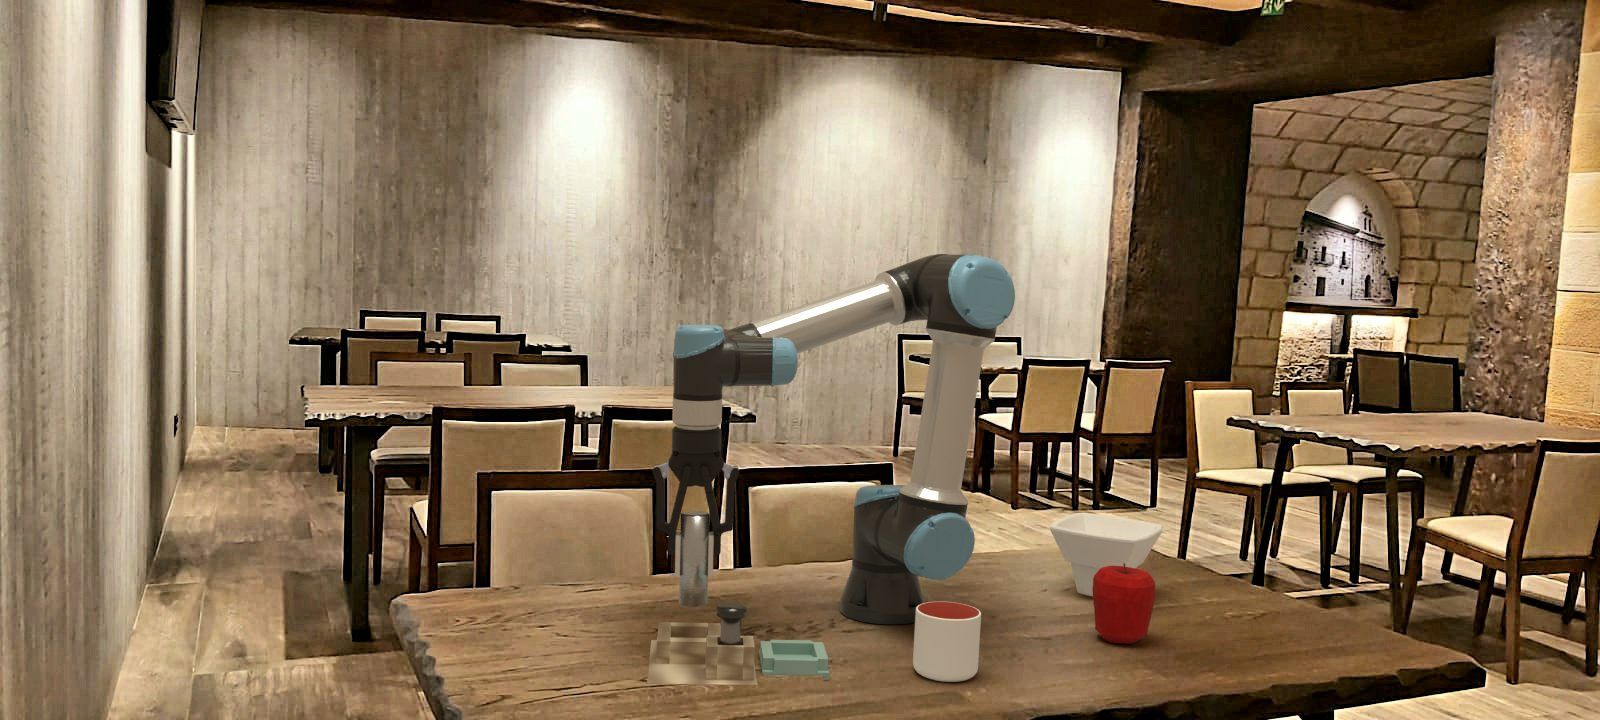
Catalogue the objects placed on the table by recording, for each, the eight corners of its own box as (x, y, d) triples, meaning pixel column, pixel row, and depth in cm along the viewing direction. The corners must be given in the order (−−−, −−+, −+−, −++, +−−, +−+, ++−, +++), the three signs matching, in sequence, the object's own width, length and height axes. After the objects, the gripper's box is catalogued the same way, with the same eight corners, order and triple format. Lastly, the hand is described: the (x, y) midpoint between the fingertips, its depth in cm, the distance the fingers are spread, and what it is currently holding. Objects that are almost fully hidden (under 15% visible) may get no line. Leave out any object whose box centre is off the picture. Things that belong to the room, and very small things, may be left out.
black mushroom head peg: (743, 662, 193) (745, 603, 192) (744, 672, 189) (747, 611, 188) (714, 662, 193) (716, 602, 192) (714, 672, 189) (717, 611, 188)
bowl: (1165, 594, 250) (1170, 524, 249) (1133, 616, 234) (1139, 541, 233) (1073, 578, 260) (1078, 510, 259) (1037, 597, 244) (1042, 525, 243)
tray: (821, 658, 202) (822, 640, 202) (828, 680, 192) (829, 660, 192) (758, 657, 201) (759, 639, 201) (762, 679, 191) (763, 660, 191)
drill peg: (707, 598, 201) (709, 510, 200) (707, 606, 197) (709, 517, 195) (679, 598, 201) (680, 510, 199) (678, 606, 196) (680, 516, 195)
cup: (907, 662, 202) (910, 600, 202) (969, 663, 203) (973, 601, 202) (918, 684, 193) (922, 619, 192) (983, 685, 193) (987, 620, 193)
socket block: (750, 646, 207) (752, 611, 207) (757, 690, 187) (758, 651, 186) (651, 644, 206) (652, 609, 205) (646, 688, 185) (648, 649, 185)
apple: (1102, 650, 213) (1107, 570, 212) (1079, 631, 223) (1084, 555, 222) (1162, 650, 215) (1168, 570, 213) (1137, 631, 225) (1142, 555, 223)
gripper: (752, 423, 201) (748, 569, 203) (640, 421, 199) (638, 568, 201) (754, 430, 193) (751, 581, 195) (638, 428, 192) (636, 581, 194)
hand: (693, 574), depth 198 cm, fingers closed on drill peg, 4 cm apart
